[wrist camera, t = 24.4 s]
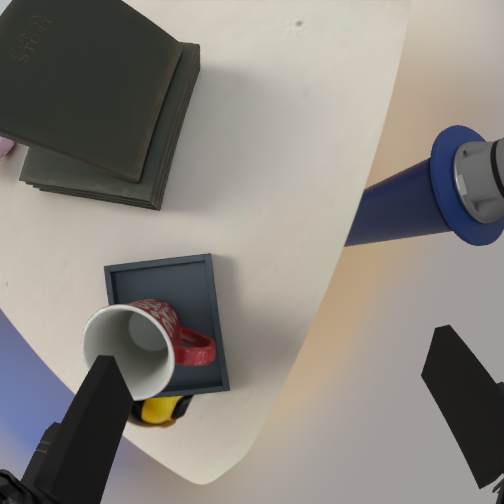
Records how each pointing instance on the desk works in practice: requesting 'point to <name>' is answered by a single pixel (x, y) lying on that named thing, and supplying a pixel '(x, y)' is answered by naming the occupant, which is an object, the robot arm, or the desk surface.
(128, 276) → the tray
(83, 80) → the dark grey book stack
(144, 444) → the desk surface
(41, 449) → the robot arm
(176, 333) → the mug
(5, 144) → the pink toy figure
